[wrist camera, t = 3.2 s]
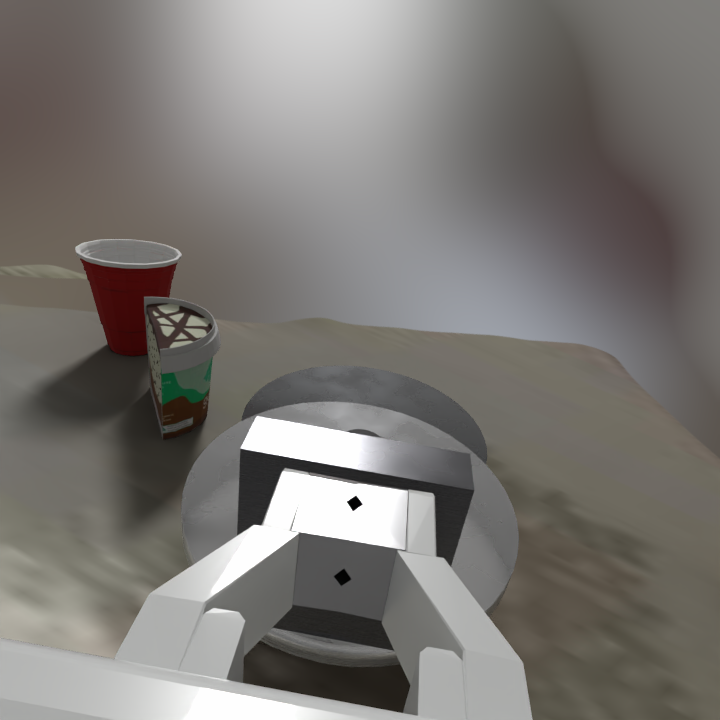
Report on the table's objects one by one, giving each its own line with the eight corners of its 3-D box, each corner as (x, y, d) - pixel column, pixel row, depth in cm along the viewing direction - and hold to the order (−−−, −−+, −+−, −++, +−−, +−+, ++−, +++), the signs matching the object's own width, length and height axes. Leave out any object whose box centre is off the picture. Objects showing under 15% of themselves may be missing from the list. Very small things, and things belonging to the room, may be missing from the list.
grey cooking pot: (202, 599, 36) (202, 485, 32) (269, 443, 52) (276, 351, 47) (462, 648, 36) (501, 539, 31) (451, 475, 51) (476, 386, 47)
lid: (113, 623, 23) (88, 425, 18) (242, 399, 39) (247, 262, 35) (540, 705, 23) (632, 522, 18) (492, 443, 39) (534, 310, 34)
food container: (232, 438, 52) (235, 346, 47) (165, 449, 49) (161, 352, 44) (206, 374, 61) (206, 292, 57) (148, 380, 59) (143, 294, 54)
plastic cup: (197, 333, 70) (196, 242, 64) (159, 373, 60) (154, 270, 55) (116, 318, 70) (108, 227, 65) (65, 356, 61) (51, 252, 55)
